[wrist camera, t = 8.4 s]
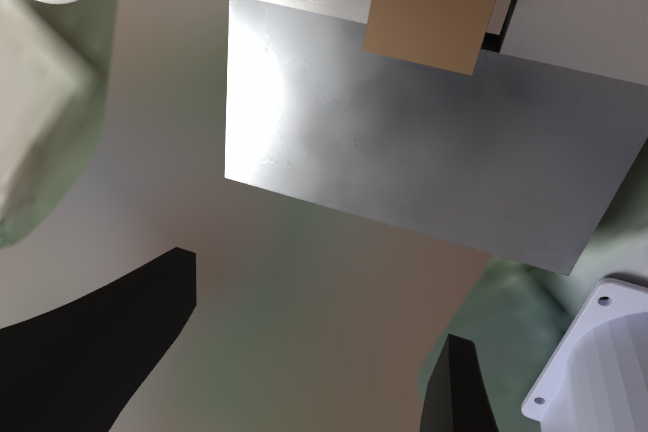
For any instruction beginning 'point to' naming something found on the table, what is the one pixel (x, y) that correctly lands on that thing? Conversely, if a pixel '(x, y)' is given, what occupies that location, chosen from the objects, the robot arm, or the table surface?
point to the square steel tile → (445, 121)
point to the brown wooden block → (429, 31)
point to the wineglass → (57, 1)
